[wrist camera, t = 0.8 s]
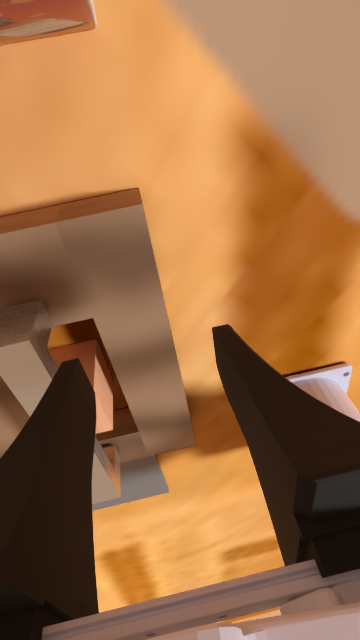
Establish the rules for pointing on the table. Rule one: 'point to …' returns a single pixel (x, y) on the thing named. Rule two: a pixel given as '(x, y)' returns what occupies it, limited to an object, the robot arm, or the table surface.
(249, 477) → the table surface
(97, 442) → the bar
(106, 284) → the puzzle board
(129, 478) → the mat
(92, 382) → the block
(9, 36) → the small box
